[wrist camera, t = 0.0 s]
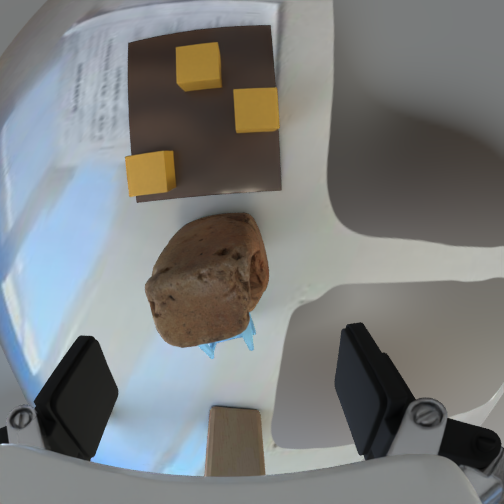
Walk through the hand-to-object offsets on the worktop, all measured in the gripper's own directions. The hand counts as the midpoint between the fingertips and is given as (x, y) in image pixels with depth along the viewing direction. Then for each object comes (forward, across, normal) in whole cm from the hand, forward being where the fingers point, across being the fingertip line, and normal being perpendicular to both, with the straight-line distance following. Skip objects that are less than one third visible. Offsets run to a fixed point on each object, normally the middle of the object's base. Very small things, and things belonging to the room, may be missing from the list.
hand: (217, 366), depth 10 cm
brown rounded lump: (+31, +2, +4) cm, 32 cm away
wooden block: (+31, +4, +43) cm, 53 cm away
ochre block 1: (+31, +10, -6) cm, 33 cm away
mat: (+31, +4, -14) cm, 34 cm away
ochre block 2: (+31, +3, -19) cm, 36 cm away
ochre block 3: (+31, -4, -12) cm, 34 cm away
